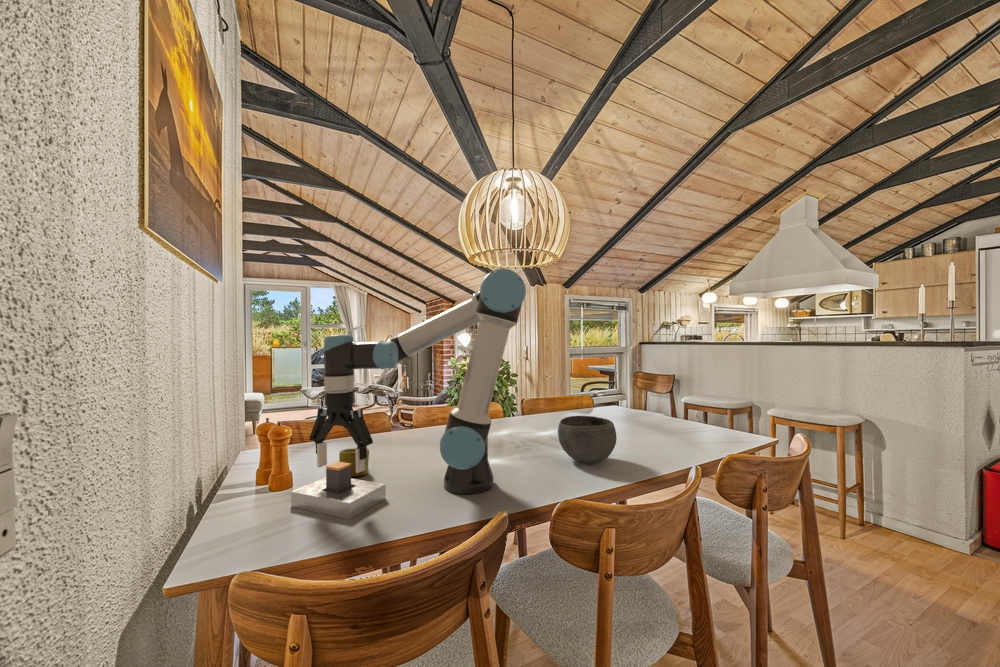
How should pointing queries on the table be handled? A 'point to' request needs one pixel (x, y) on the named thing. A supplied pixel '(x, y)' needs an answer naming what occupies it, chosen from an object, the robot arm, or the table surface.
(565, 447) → the bowl
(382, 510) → the table surface
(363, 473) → the mug
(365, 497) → the socket plate
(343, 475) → the plug
